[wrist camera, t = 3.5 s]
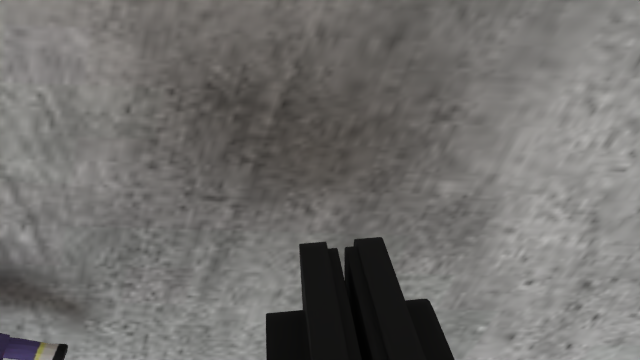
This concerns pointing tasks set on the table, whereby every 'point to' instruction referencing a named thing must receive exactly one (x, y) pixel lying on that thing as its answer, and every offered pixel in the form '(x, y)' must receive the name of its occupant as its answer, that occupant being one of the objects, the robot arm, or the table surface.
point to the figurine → (30, 349)
